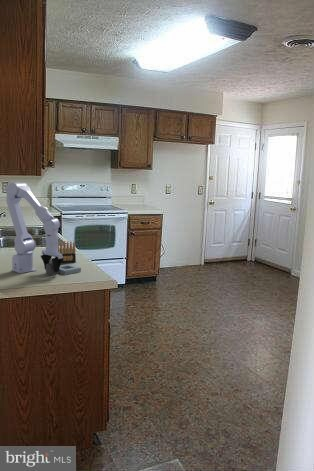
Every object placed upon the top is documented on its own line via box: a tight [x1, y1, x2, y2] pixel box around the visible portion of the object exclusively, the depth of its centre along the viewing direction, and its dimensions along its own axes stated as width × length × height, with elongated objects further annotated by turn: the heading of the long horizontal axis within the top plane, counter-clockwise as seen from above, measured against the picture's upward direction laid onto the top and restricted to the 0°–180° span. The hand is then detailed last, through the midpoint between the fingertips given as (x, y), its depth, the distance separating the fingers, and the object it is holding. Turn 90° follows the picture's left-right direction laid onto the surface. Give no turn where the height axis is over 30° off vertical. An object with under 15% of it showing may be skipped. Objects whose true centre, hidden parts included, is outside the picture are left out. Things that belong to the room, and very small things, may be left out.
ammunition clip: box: [58, 240, 77, 264], centre depth 227 cm, size 11×2×12 cm, turn 113°
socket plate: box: [58, 263, 82, 276], centre depth 209 cm, size 10×10×2 cm
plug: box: [45, 259, 58, 276], centre depth 202 cm, size 4×4×7 cm
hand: (51, 270), depth 202 cm, fingers open, 7 cm apart
